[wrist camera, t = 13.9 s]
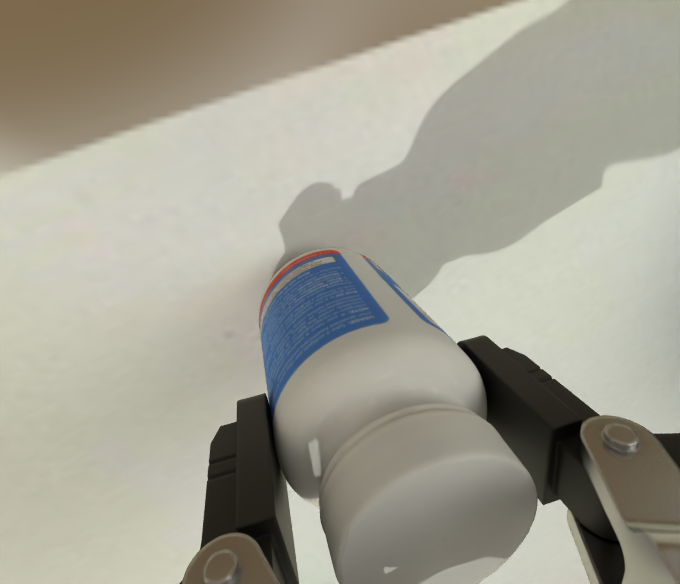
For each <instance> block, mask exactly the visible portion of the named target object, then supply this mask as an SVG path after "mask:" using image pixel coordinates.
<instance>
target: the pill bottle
mask: <svg viewBox="0 0 680 584" xmlns="http://www.w3.org/2000/svg"><path fill="white" fill-rule="evenodd" d="M259 327H260V334H261V342H262V350H263V359H264V367H265V374H266V382H267V390H268V398H269V406H270V413H271V421H272V429H273V436H274V443H275V449H276V454H277V458H278V462H279V465H280V467H281V470H282V472H283V474H284V476H285V478H286V480H287V482H288V483H289V484H290V486H291V487H292V488H293V490H294V491H295V492H296V493H297V494H298V495H300V496H301V497H302V498H303V499H304V500H305V501H307V502H308V503H310V504H311V505H313V506H315V507H317V508H319V509H320V519H321V524H322V527H323V530H324V533H325V535H326V539H327V543H328V547H329V551H330V555H331V559H332V563H333V567H334V571H335V575H336V577H337V580H338V582H339V584H478V583H480V582H481V581H482V580H483V579H485V578H486V577H488V576H489V575H491V574H492V573H493V572H495V571H496V570H497V569H498V568H499V567H500V566H501V565H502V564H504V563H505V562H506V561H507V559H508V558H509V557H510V556H511V555H512V554H513V553H514V552H515V551H516V549H517V548H518V547H519V545H520V544H521V543H522V542H523V540H524V538H525V537H526V535H527V534H528V532H529V530H530V527H531V525H532V523H533V521H534V518H535V514H536V510H537V491H536V486H535V484H534V482H533V479H532V477H531V475H530V474H529V472H528V471H527V469H526V468H525V467H524V466H523V464H522V463H521V462H520V460H519V459H518V458H517V457H516V455H515V454H514V453H513V451H512V450H511V449H510V448H509V446H508V445H507V444H506V443H505V441H504V440H503V439H502V437H501V436H500V434H499V433H498V432H497V431H496V429H495V428H494V427H493V426H492V425H491V424H490V423H488V422H487V421H486V417H487V397H486V391H485V387H484V384H483V380H482V378H481V376H480V373H479V372H478V370H477V368H476V366H475V365H474V364H473V362H472V361H471V360H470V358H469V357H468V356H467V355H466V354H465V353H464V352H463V350H462V349H461V348H460V347H459V346H458V345H457V344H456V343H455V342H454V341H453V340H452V339H451V338H450V337H449V336H448V335H447V334H446V333H445V332H444V331H443V330H442V329H441V328H440V327H439V326H438V325H437V324H436V323H435V322H434V321H433V320H432V319H431V318H430V317H429V316H428V315H427V314H426V313H425V312H424V311H423V310H422V309H421V308H420V307H419V306H418V305H417V304H416V303H415V302H414V301H413V300H412V299H411V298H410V297H409V296H408V295H407V294H406V293H405V292H404V291H403V290H402V289H401V288H400V287H399V286H398V285H397V284H396V283H395V282H394V281H393V280H392V279H391V278H390V277H389V276H388V275H387V274H386V273H385V272H384V271H383V270H382V269H381V268H380V267H378V266H377V265H376V264H375V263H374V262H372V261H371V260H370V259H368V258H366V257H365V256H363V255H361V254H359V253H357V252H354V251H351V250H347V249H342V248H321V249H316V250H312V251H309V252H306V253H303V254H301V255H299V256H297V257H295V258H294V259H292V260H290V261H289V262H288V263H286V264H285V265H284V266H283V267H282V268H281V269H280V270H279V271H278V272H277V273H276V274H275V275H274V276H273V278H272V279H271V281H270V282H269V284H268V285H267V287H266V289H265V291H264V294H263V297H262V300H261V304H260V311H259Z"/></svg>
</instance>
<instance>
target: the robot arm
mask: <svg viewBox="0 0 680 584" xmlns="http://www.w3.org/2000/svg"><path fill="white" fill-rule="evenodd" d="M457 345H458V346H459V347H460V348H461V349H462V350H463V352H464V353H465V354H466V355H467V356H468V357H469V358H470V360H471V361H472V362H473V364H474V365H475V366H476V368H477V370H478V372H479V373H480V376H481V378H482V380H483V384H484V387H485V391H486V397H487V417H486V421H487V422H488V423H490V424H491V425H492V426H493V427H494V428H495V429H496V431H497V432H498V433H499V434H500V436H501V437H502V439H503V440H504V441H505V443H506V444H507V445H508V446H509V448H510V449H511V450H512V451H513V453H514V454H515V455H516V457H517V458H518V459H519V460H520V462H521V463H522V464H523V466H524V467H525V468H526V469H527V471H528V472H529V474H530V475H531V477H532V479H533V482H534V484H535V486H536V491H537V498H538V499H539V500H540V502H541V503H542V504H543V505H545V504H548V503H551V502H554V501H556V500H559V499H560V500H561V501H562V502H563V503H564V504H565V505H566V507H567V508H568V512H567V521H568V525H569V527H570V530H571V533H572V535H573V538H574V541H575V544H576V546H577V549H578V552H579V554H580V557H581V560H582V562H583V565H584V568H585V570H586V573H587V576H588V578H589V581H590V584H680V433H672V434H652V433H651V432H650V431H649V430H647V429H646V428H644V427H643V426H641V425H639V424H637V423H635V422H633V421H630V420H627V419H624V418H621V417H616V416H607V415H603V416H600V415H599V414H597V413H596V412H595V411H594V410H592V409H591V408H590V407H589V406H588V405H586V404H585V403H584V402H583V401H581V400H580V399H579V398H578V397H576V396H575V395H574V394H573V393H571V392H570V391H569V390H568V389H566V388H565V387H564V386H563V385H561V384H560V383H559V382H558V381H557V380H555V379H552V377H551V376H550V375H549V374H548V373H547V372H545V371H544V370H543V369H540V367H539V366H538V365H537V364H535V363H534V362H533V361H532V360H530V359H529V358H528V357H527V356H525V355H523V354H521V353H518V352H516V351H514V350H511V349H509V348H504V349H501V348H500V347H498V346H497V345H496V344H495V343H494V342H493V341H491V340H490V339H489V338H488V337H486V336H479V337H475V338H471V339H468V340H464V341H460V342H458V343H457ZM209 464H210V465H209V467H208V481H207V489H206V500H205V510H204V521H203V532H202V542H201V548H200V551H199V552H198V553H197V554H196V555H195V557H194V558H193V559H192V561H191V563H190V564H189V566H188V568H187V570H186V572H185V575H184V578H183V580H182V581H181V583H180V584H299V579H298V571H297V563H296V555H295V548H294V540H293V532H292V524H291V517H290V509H289V501H288V493H287V485H286V478H285V476H284V474H283V472H282V470H281V467H280V465H279V462H278V458H277V454H276V449H275V443H274V436H273V429H272V421H271V413H270V406H269V402H268V399H267V396H266V394H265V393H264V394H261V395H257V396H253V397H250V398H246V399H242V400H238V401H237V422H234V423H230V424H227V425H223V426H220V428H219V430H218V432H217V433H216V435H215V437H214V439H213V441H212V442H211V446H210V457H209Z"/></svg>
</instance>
